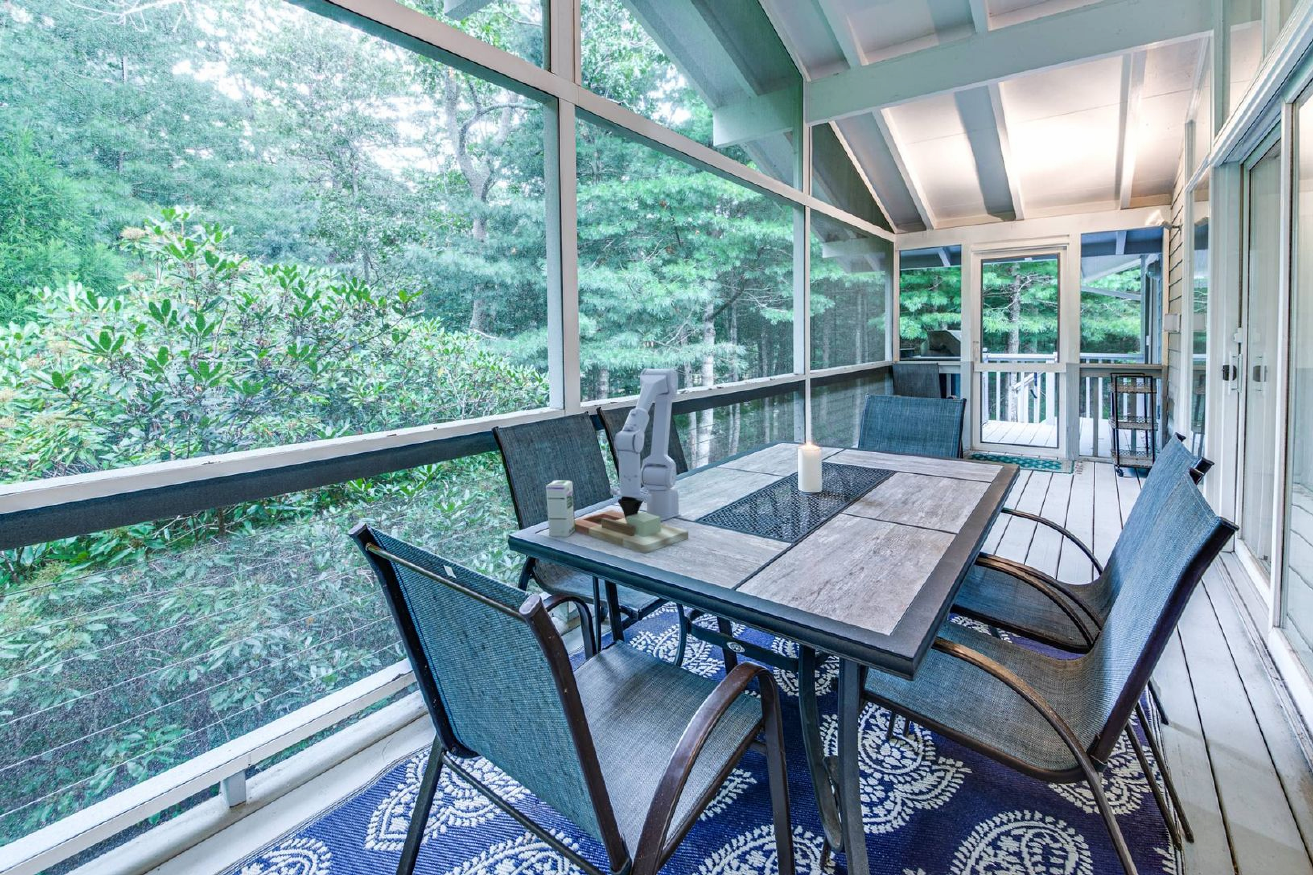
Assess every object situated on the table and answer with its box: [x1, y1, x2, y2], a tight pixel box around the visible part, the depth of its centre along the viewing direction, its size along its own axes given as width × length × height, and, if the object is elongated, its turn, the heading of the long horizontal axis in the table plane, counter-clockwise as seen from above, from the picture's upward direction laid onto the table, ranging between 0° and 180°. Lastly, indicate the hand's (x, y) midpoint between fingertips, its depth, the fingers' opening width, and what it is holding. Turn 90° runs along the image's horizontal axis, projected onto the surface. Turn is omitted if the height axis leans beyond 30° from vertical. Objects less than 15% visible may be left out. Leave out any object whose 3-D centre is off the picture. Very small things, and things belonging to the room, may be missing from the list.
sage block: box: [626, 511, 662, 537], centre depth 166 cm, size 6×7×4 cm
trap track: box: [574, 509, 689, 554], centre depth 172 cm, size 16×31×4 cm, turn 44°
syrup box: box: [545, 479, 576, 537], centre depth 172 cm, size 6×6×14 cm
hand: (631, 523), depth 170 cm, fingers closed
